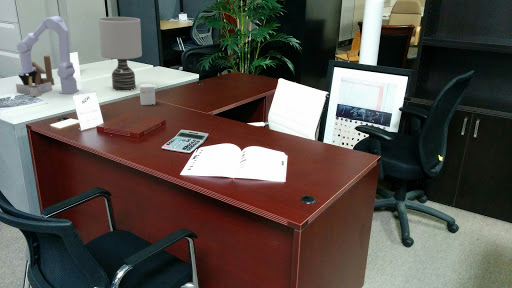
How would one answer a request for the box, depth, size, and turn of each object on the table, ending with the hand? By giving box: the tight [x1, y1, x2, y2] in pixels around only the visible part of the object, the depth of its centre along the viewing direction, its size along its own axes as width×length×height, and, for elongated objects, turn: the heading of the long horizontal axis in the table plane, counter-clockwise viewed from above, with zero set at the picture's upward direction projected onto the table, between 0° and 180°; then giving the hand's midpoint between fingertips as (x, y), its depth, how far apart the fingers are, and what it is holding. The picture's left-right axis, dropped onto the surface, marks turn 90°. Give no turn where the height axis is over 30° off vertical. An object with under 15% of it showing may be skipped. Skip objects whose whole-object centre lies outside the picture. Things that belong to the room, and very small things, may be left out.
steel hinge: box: [15, 82, 53, 97], centre depth 262 cm, size 16×16×5 cm
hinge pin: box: [28, 76, 34, 86], centre depth 267 cm, size 4×4×8 cm
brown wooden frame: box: [32, 55, 55, 86], centre depth 277 cm, size 4×11×18 cm, turn 100°
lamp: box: [97, 16, 143, 91], centre depth 273 cm, size 24×24×42 cm
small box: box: [139, 83, 156, 106], centre depth 251 cm, size 8×6×10 cm
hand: (29, 84), depth 268 cm, fingers open, 7 cm apart
